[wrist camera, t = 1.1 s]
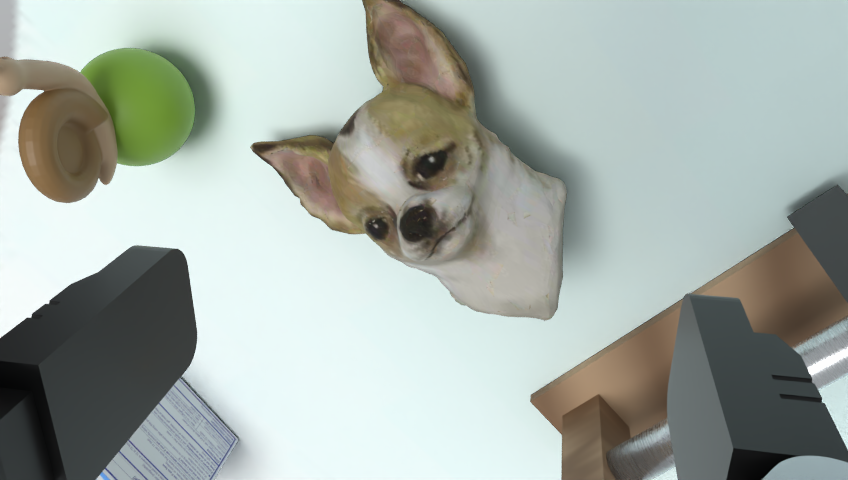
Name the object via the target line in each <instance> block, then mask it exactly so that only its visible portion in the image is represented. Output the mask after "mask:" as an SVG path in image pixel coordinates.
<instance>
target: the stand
mask: <svg viewBox="0 0 848 480" xmlns="http://www.w3.org/2000/svg"><path fill="white" fill-rule="evenodd" d="M847 195H848V194H847ZM691 294H697V295H709V296H721V297H733V298H739V299H740V301H741V303H742V305H743V308H744V310H745V312H746V315H747V317H748V320H749V322H750V325H751V327H752V329H753V332H755V333H766V334H776V335H777V336H778V337H779V338H781V339H782V340H783V341H784V342H785V343H786V344H788V345H789V346H790V347H792V346H794V345H796V344H798V343H799V342H801V341H803V340H805V339H806V338H808V337H810V336H812V335H814V334H815V333H817V332H819V331H821V330H822V329H824V328H826V327H828V326H829V325H831V324H833V323H835V322H836V321H838V320H840V319H842V318H843V317H845V316H847V315H848V303H847V301H846V300H845V299H844V297H843V296H842V294H841V293H840V292H839V290H838V289H837V287H836V286H835V284H834V283H833V282H832V280H831V279H830V277H829V276H828V275H827V273H826V272H825V270H824V269H823V267H822V266H821V265H820V263H819V262H818V260H817V259H816V258H815V256H814V255H813V253H812V252H811V250H810V249H809V248H808V246H807V245H806V243H805V242H804V241H803V239H802V238H801V236H800V235H799V233H798V232H797V231H796V229H795V228H794V229H792V230H790V231H789V232H787V233H786V234H784V235H782V236H781V237H779V238H778V239H776V240H775V241H773V242H771V243H770V244H768V245H767V246H765V247H764V248H762V249H760V250H759V251H757V252H756V253H754V254H753V255H751V256H749V257H748V258H746V259H745V260H743V261H742V262H740V263H738V264H737V265H735V266H734V267H732V268H731V269H729V270H727V271H726V272H724V273H723V274H721V275H719V276H718V277H716V278H715V279H713V280H712V281H710V282H708V283H707V284H705V285H704V286H702V287H701V288H699V289H697V290H696V291H694V292H693V293H691ZM682 301H683V299H682V300H680V301H679V302H677V303H675V304H674V305H672V306H671V307H669V308H668V309H666V310H664V311H663V312H661V313H660V314H658V315H656V316H655V317H653V318H652V319H650V320H649V321H647V322H645V323H644V324H642V325H641V326H639V327H638V328H636V329H634V330H633V331H631V332H630V333H628V334H627V335H625V336H623V337H622V338H620V339H619V340H617V341H616V342H614V343H612V344H611V345H609V346H608V347H606V348H605V349H603V350H601V351H600V352H598V353H597V354H595V355H593V356H592V357H590V358H589V359H587V360H586V361H584V362H582V363H581V364H579V365H578V366H576V367H575V368H573V369H571V370H570V371H568V372H567V373H565V374H564V375H562V376H560V377H559V378H557V379H556V380H554V381H553V382H551V383H549V384H548V385H546V386H545V387H543V388H542V389H540V390H538V391H537V392H535V393H534V394H532V395H531V400H530V402H531V403H532V404H533V405H534V406H535V407H536V408H537V409H538V410H539V411H540V412H541V413H542V414H543V416H544V417H545V418H546V419H547V420H548V421H549V422H550V423H551V424H552V425H553V426H554V427H555V428H556V429H557V430H558V431H559V432H560V433H561V434H562V480H616V479H615V477H614V476H613V474H612V472H611V470H610V468H609V466H608V463H607V459H606V453H607V451H609V450H611V449H613V448H615V447H616V446H618V445H620V444H622V443H623V442H625V441H627V440H629V439H630V438H632V437H634V436H636V435H637V434H639V433H641V432H643V431H644V430H646V429H648V428H650V427H651V426H653V425H655V424H657V423H659V422H660V421H662V420H664V419H666V418H667V393H668V383H669V377H670V370H671V364H672V358H673V352H674V346H675V340H676V334H677V328H678V322H679V316H680V310H681V305H682Z"/></svg>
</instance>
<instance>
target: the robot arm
mask: <svg viewBox="0 0 848 480" xmlns="http://www.w3.org/2000/svg"><path fill="white" fill-rule="evenodd" d="M196 344H197V328H196V321H195V314H194V307H193V300H192V293H191V286H190V279H189V272H188V265H187V261H186V258H185V256H184V254H183V253H182V251H180V250H179V249H172V248H160V247H149V246H132V247H130V248H129V249H128V250H126V251H125V252H124V253H122V254H121V255H120V256H119V257H117V258H116V259H115V260H113V261H112V262H111V263H110V264H108V265H107V266H106V267H105V268H103V269H102V270H101V271H99V272H98V273H95V274H93V275H91V276H89V277H86V278H84V279H82V280H79V281H77V282H75V283H73V284H71V285H69V286H68V287H67V288H65V289H64V290H63V291H62V292H60V293H59V294H58V295H56V296H55V297H54V298H52V299H51V300H50V303H49V304H45V305H43V306H42V307H41V308H39V309H38V310H37V311H35V312H34V313H33V314H32V317H31V318H26V319H25V320H24V321H22V322H21V323H20V324H18V325H17V326H16V327H14V328H13V329H12V330H10V331H9V332H8V333H7V334H5V335H4V336H3V337H1V338H0V480H96V479H97V478H98V476H99V475H100V474H101V473H102V471H103V470H104V469H105V468H106V467H107V465H108V464H109V463H110V462H111V461H112V459H113V458H114V457H115V456H116V455H117V453H118V452H119V451H120V450H121V448H122V447H123V446H124V445H125V444H126V442H127V441H128V440H129V439H130V438H131V436H132V435H133V434H134V433H135V431H136V430H137V429H138V428H139V427H140V425H141V424H142V423H143V422H144V421H145V419H146V418H147V417H148V416H149V415H150V413H151V412H152V411H153V410H154V408H155V407H156V406H157V405H158V404H159V402H160V401H161V400H162V399H163V398H164V396H165V395H166V394H167V393H168V392H169V390H170V389H171V388H172V387H173V385H174V384H175V383H176V382H177V381H178V379H179V378H180V377H181V376H182V375H183V373H184V372H185V371H186V370H187V368H188V367H189V365H190V364H191V362H192V359H193V357H194V353H195V349H196ZM667 419H668V427H669V432H670V438H671V444H672V449H673V455H674V461H675V466H676V472H677V477H678V480H848V450H847V448H846V446H845V444H844V442H843V440H842V438H841V436H840V434H839V432H838V430H837V428H836V426H835V424H834V422H833V420H832V417H831V415H830V413H829V411H828V409H827V407H826V405H825V403H822V397H821V395H820V393H819V391H818V389H817V387H816V385H815V383H812V377H811V375H810V373H809V371H808V369H807V367H806V365H805V363H804V361H803V359H802V357H801V355H800V354H798V353H797V352H796V351H795V350H794V349H792V348H791V347H790V346H789V345H788V344H786V343H785V342H784V341H783V340H782V339H781V338H779V337H778V336H777V335H776V334H766V333H755V332H753V329H752V327H751V325H750V322H749V320H748V317H747V315H746V312H745V310H744V308H743V305H742V303H741V301H740V299H739V298H733V297H721V296H709V295H697V294H686V295H685V296H684V298H683V301H682V305H681V310H680V316H679V322H678V328H677V334H676V340H675V346H674V352H673V358H672V364H671V370H670V377H669V383H668V393H667Z"/></svg>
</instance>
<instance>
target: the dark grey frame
mask: <svg viewBox="0 0 848 480" xmlns="http://www.w3.org/2000/svg"><path fill="white" fill-rule="evenodd" d="M787 218H788V219H789V221H790V222H791V224H792V225H793V226H794V228H795V229H796V231H797V232H798V233H799V235H800V236H801V238H802V239H803V241H804V242H805V243H806V245H807V246H808V248H809V249H810V250H811V252H812V253H813V255H814V256H815V258H816V259H817V260H818V262H819V263H820V265H821V266H822V267H823V269H824V270H825V272H826V273H827V275H828V276H829V277H830V279H831V280H832V282H833V283H834V284H835V286H836V287H837V289H838V290H839V292H840V293H841V294H842V296H843V297H844V299H845V300H846V301H847V303H848V195H847V194H846V193H845V192H844V191H843V190H842V189H841V188H840V187H839V186H838V185H836V186H834V187H833V188H831V189H830V190H828V191H827V192H825V193H824V194H822V195H821V196H819V197H817V198H816V199H814V200H813V201H811V202H810V203H808V204H807V205H805V206H803V207H802V208H800V209H799V210H797V211H796V212H794V213H793V214H791V215H789V216H788V217H787Z"/></svg>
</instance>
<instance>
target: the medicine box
mask: <svg viewBox="0 0 848 480" xmlns="http://www.w3.org/2000/svg"><path fill="white" fill-rule="evenodd" d="M237 442H238V439H237V437H236V436H235V435H234V434H233V433H232V432H231V431H230V430H229V429H228V428H227V427H226V426H225V425H224V424H223V423H222V422H221V421H220V420H219V418H218V417H217V416H216V415H215V414H214V413H213V412H212V411H211V410H210V409H209V408H208V407H207V406H206V404H205V403H204V402H203V401H202V400H201V399H200V398H199V397H198V396H197V395H196V394H195V393H194V392H193V391H192V390H191V389H190V387H189V386H188V385H187V384H186V383H185V382H184V381H183V380H182V379H181V378H179V379H178V381H177V382H176V383H175V384H174V385H173V387H172V388H171V389H170V390H169V392H168V393H167V394H166V395H165V396H164V398H163V399H162V400H161V401H160V402H159V404H158V405H157V406H156V407H155V408H154V410H153V411H152V412H151V413H150V415H149V416H148V417H147V418H146V419H145V421H144V422H143V423H142V424H141V425H140V427H139V428H138V429H137V430H136V431H135V433H134V434H133V435H132V436H131V438H130V439H129V440H128V441H127V442H126V444H125V445H124V446H123V447H122V448H121V450H120V451H119V452H118V453H117V455H116V456H115V457H114V458H113V459H112V461H111V462H110V463H109V464H108V465H107V467H106V468H105V469H104V470H103V471H102V473H101V474H100V475H99V476H98V478H97V479H96V480H214V479H215V477H216V476H217V474H218V472H219V471H220V469H221V467H222V466H223V464H224V463H225V461H226V459H227V458H228V456H229V455H230V453H231V451H232V449H233V448H234V447H235V445H236V443H237Z"/></svg>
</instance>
